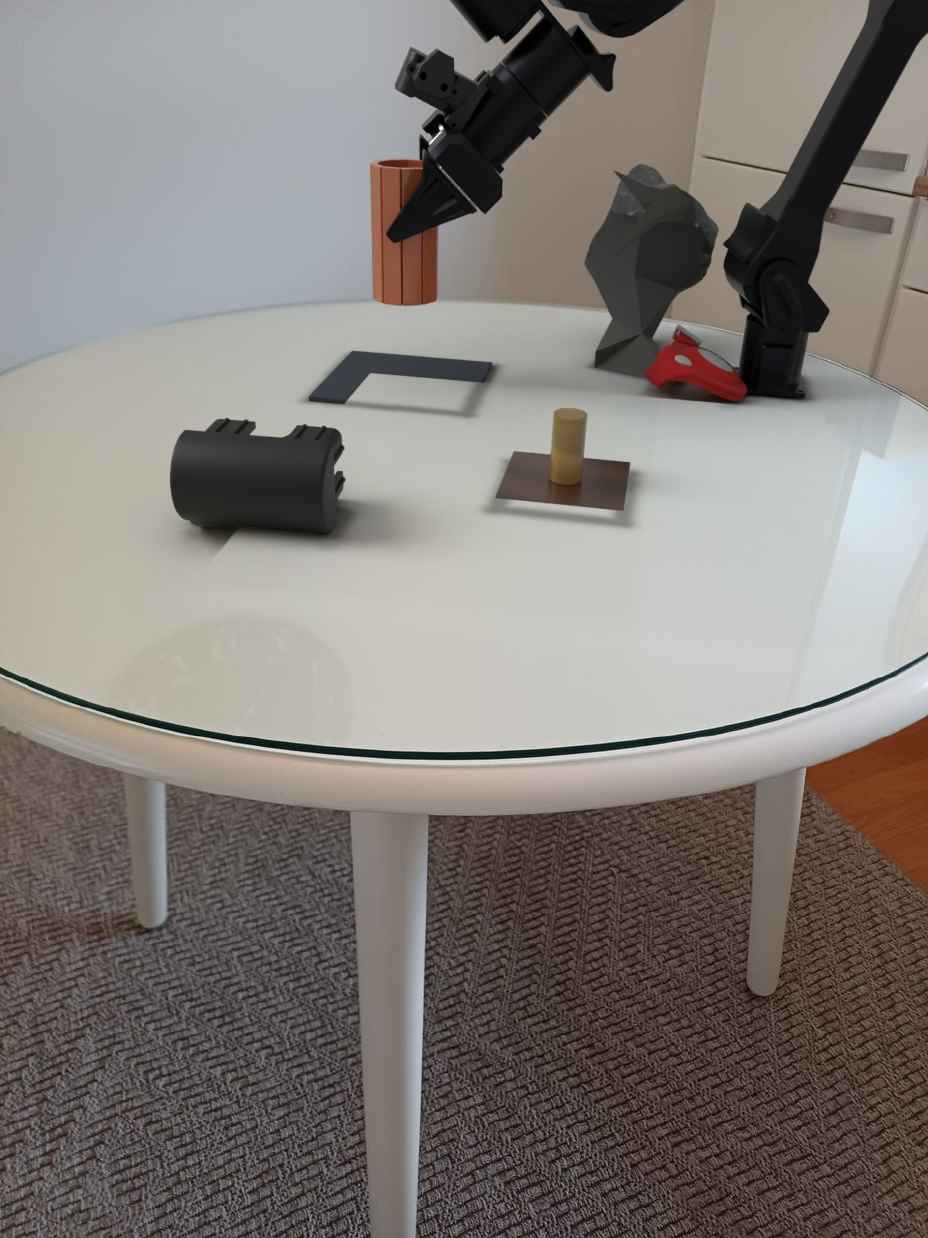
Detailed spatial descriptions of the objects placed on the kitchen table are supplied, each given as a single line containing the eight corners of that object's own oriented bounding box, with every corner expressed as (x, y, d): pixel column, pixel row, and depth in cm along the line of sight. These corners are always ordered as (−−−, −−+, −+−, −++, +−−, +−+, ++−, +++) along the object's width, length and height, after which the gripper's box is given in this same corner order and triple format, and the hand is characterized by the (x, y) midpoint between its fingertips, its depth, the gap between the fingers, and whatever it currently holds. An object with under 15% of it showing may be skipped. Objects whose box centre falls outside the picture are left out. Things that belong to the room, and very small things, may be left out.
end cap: (175, 544, 71) (163, 446, 67) (213, 500, 77) (203, 408, 73) (324, 558, 70) (320, 459, 66) (351, 512, 76) (348, 419, 72)
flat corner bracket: (352, 354, 107) (352, 350, 107) (492, 366, 105) (492, 361, 105) (308, 400, 95) (308, 396, 95) (465, 414, 93) (465, 410, 93)
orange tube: (416, 286, 99) (416, 156, 93) (450, 301, 95) (451, 166, 89) (362, 293, 96) (358, 160, 91) (394, 309, 92) (392, 170, 87)
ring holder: (512, 462, 84) (516, 387, 81) (629, 473, 83) (637, 398, 80) (494, 510, 77) (497, 429, 74) (622, 523, 75) (631, 441, 72)
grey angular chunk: (730, 346, 113) (759, 160, 104) (672, 384, 102) (699, 179, 93) (607, 322, 119) (623, 145, 110) (539, 356, 108) (551, 162, 99)
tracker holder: (773, 389, 98) (705, 372, 92) (745, 430, 101) (676, 415, 94) (694, 319, 105) (626, 299, 99) (670, 359, 108) (601, 341, 101)
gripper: (448, 4, 93) (324, 143, 97) (462, 11, 77) (312, 176, 81) (535, 107, 97) (412, 235, 102) (565, 134, 81) (417, 284, 86)
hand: (389, 231), depth 93 cm, fingers closed on orange tube, 6 cm apart
